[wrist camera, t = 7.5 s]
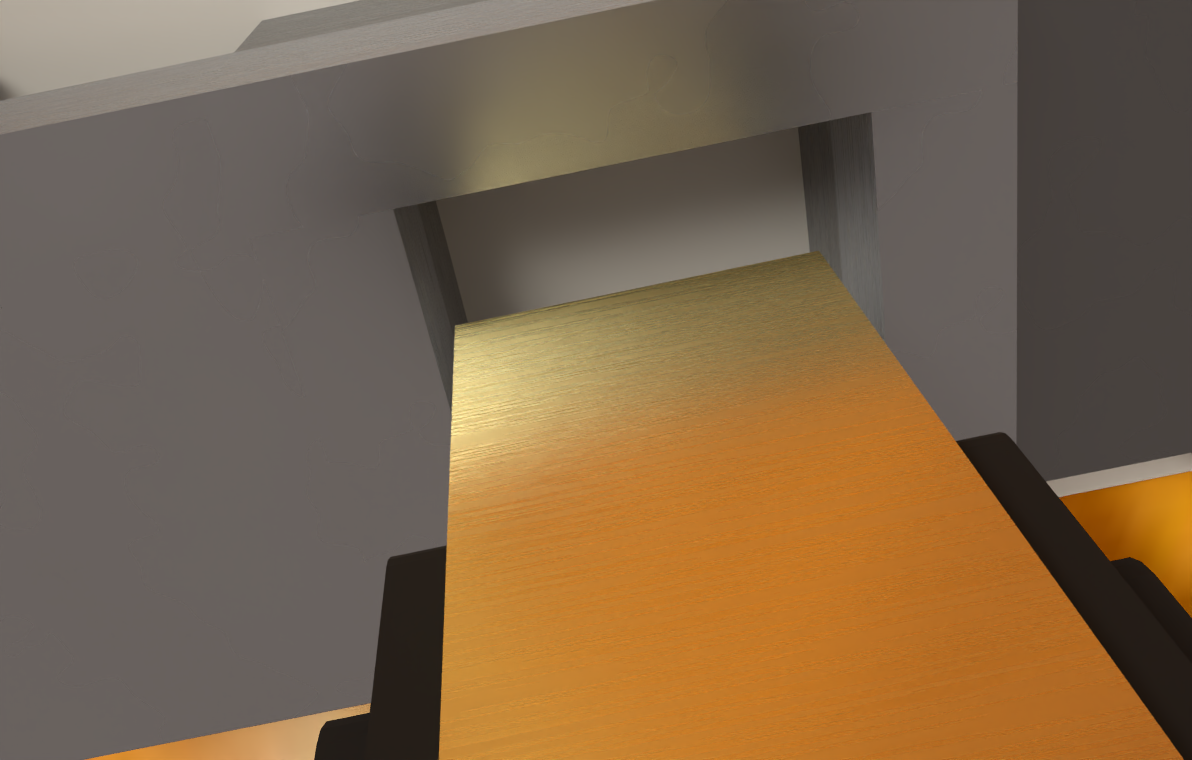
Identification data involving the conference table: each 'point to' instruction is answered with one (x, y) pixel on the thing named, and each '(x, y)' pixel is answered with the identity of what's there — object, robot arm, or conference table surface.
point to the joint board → (507, 214)
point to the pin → (742, 547)
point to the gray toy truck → (434, 306)
